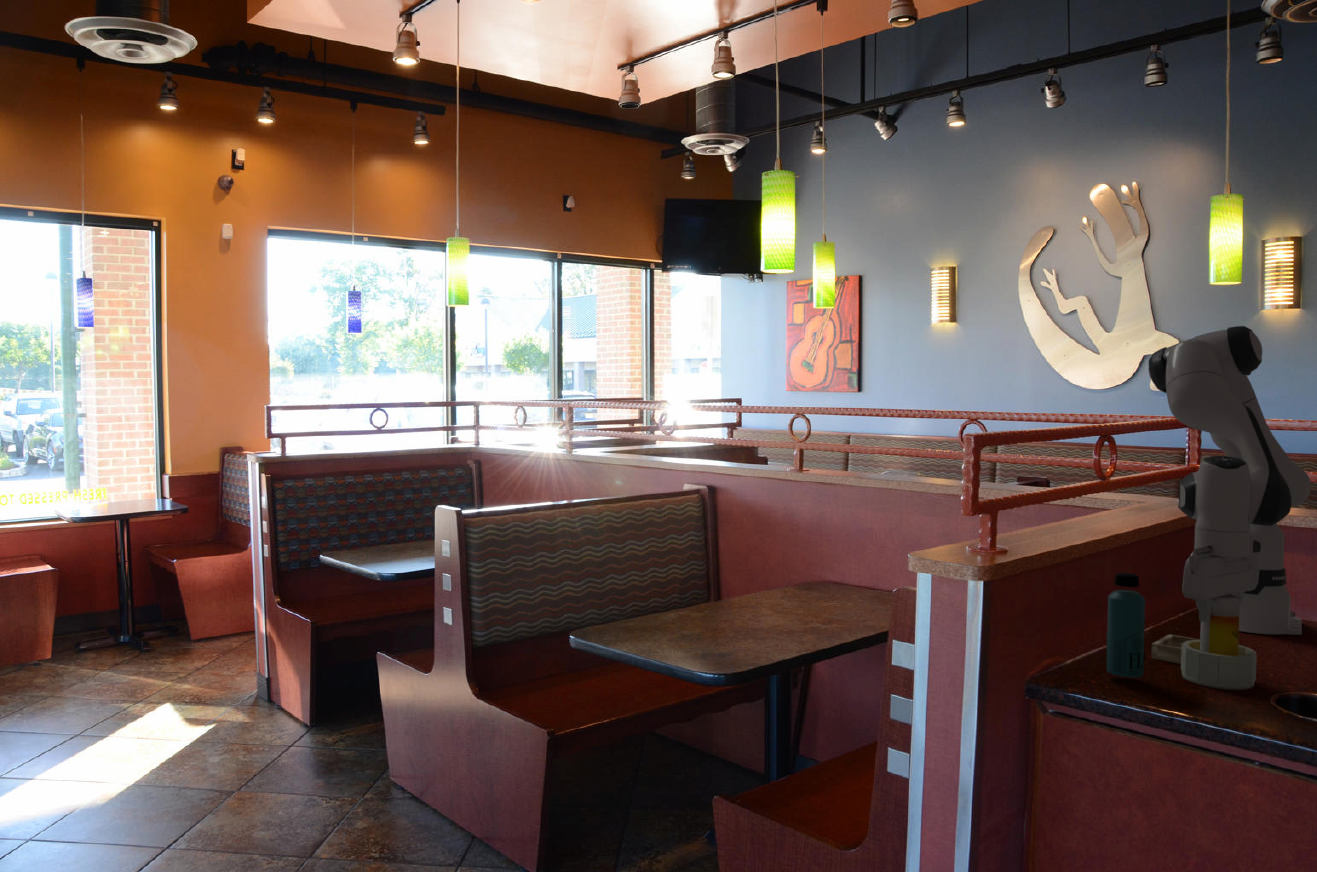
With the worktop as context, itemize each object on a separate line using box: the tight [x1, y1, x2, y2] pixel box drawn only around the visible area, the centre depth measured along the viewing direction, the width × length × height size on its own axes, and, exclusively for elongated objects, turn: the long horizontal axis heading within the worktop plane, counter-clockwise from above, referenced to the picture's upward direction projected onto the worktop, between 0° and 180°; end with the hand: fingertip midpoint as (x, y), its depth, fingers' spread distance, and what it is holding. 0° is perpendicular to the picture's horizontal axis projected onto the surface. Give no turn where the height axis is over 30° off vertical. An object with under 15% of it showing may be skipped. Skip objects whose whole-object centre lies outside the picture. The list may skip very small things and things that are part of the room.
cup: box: [1180, 640, 1258, 691], centre depth 173 cm, size 12×12×6 cm
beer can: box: [1199, 594, 1240, 656], centre depth 173 cm, size 6×6×15 cm
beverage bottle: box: [1105, 572, 1146, 678], centre depth 172 cm, size 6×7×20 cm
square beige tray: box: [1150, 633, 1200, 665], centre depth 187 cm, size 11×11×4 cm
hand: (1219, 618), depth 173 cm, fingers open, 8 cm apart
